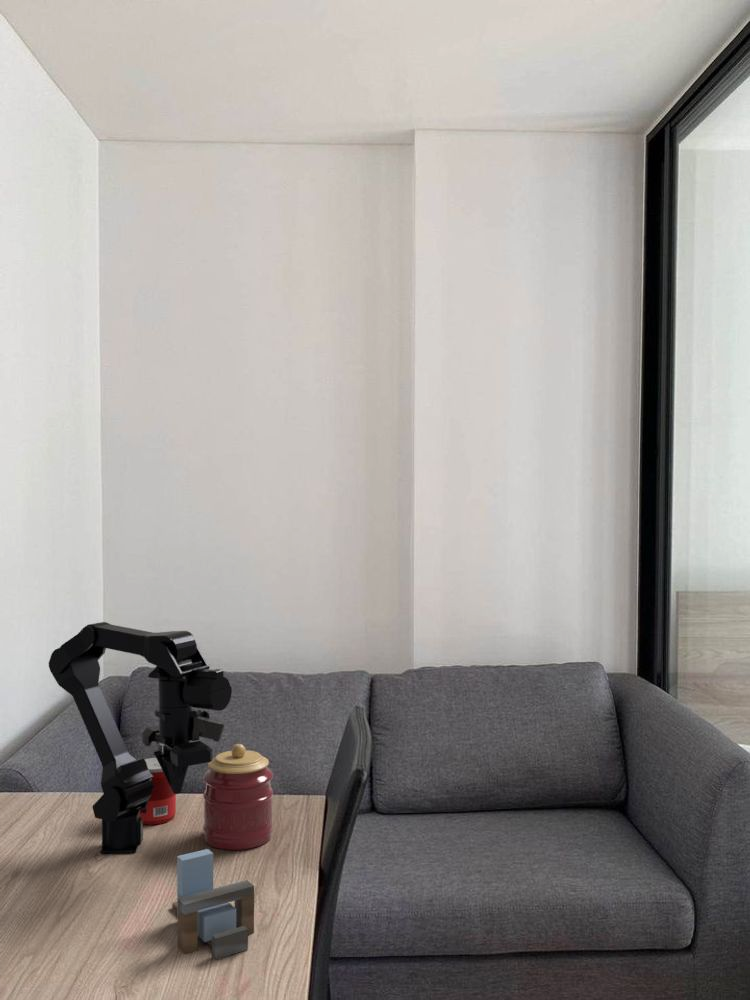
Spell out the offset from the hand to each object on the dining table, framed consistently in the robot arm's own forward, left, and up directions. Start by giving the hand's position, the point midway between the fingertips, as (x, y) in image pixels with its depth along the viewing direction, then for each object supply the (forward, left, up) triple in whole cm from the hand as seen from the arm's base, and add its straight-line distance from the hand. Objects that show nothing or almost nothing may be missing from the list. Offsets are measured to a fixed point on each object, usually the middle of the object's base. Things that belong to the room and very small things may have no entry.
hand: (176, 793), depth 162 cm
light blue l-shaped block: (+8, -25, -11) cm, 29 cm away
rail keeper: (+8, -25, -12) cm, 29 cm away
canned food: (-7, +21, -12) cm, 25 cm away
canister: (+10, +10, -12) cm, 19 cm away
